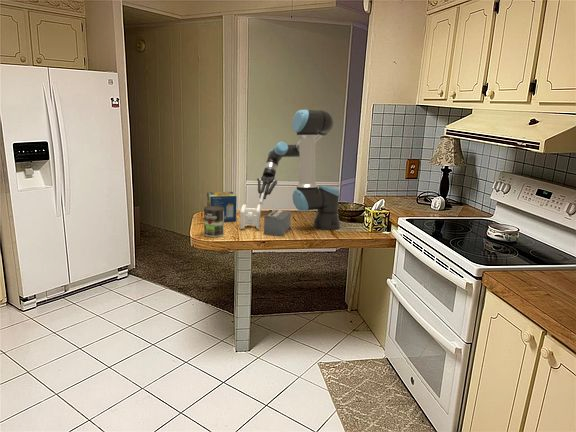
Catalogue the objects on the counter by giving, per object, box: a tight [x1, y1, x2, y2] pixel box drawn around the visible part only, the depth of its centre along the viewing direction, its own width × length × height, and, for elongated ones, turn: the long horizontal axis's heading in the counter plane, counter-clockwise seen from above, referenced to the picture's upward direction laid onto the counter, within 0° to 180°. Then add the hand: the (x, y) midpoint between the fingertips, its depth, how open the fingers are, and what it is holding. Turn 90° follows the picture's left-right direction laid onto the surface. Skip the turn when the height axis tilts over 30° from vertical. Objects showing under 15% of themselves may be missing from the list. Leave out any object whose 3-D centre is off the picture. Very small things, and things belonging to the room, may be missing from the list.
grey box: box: [263, 209, 292, 237], centre depth 239 cm, size 10×18×10 cm, turn 166°
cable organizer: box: [239, 203, 262, 230], centre depth 244 cm, size 15×11×12 cm
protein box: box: [206, 191, 238, 223], centre depth 254 cm, size 10×15×16 cm
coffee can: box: [203, 205, 225, 238], centre depth 227 cm, size 10×10×14 cm
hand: (260, 203), depth 262 cm, fingers closed
